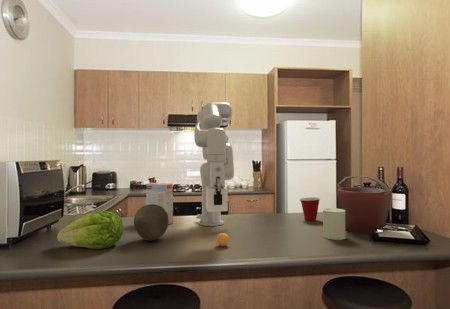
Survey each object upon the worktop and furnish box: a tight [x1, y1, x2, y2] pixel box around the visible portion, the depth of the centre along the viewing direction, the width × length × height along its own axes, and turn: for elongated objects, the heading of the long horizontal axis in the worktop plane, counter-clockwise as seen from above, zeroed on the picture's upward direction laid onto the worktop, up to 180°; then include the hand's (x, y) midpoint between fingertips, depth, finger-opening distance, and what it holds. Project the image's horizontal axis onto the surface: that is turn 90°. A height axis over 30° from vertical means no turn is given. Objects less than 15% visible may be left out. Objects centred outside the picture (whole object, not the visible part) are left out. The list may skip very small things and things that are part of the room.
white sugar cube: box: [206, 186, 229, 212], centre depth 122 cm, size 8×8×9 cm
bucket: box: [336, 175, 392, 235], centre depth 143 cm, size 24×22×25 cm
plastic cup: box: [299, 197, 321, 222], centre depth 164 cm, size 11×11×12 cm
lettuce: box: [56, 210, 124, 250], centre depth 119 cm, size 14×24×15 cm
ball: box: [216, 232, 230, 247], centre depth 118 cm, size 5×5×5 cm
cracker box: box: [145, 182, 174, 226], centre depth 159 cm, size 14×6×21 cm, turn 58°
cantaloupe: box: [133, 204, 169, 241], centre depth 127 cm, size 14×14×15 cm
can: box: [322, 207, 347, 241], centre depth 130 cm, size 9×9×12 cm
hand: (216, 203), depth 122 cm, fingers closed on white sugar cube, 7 cm apart
